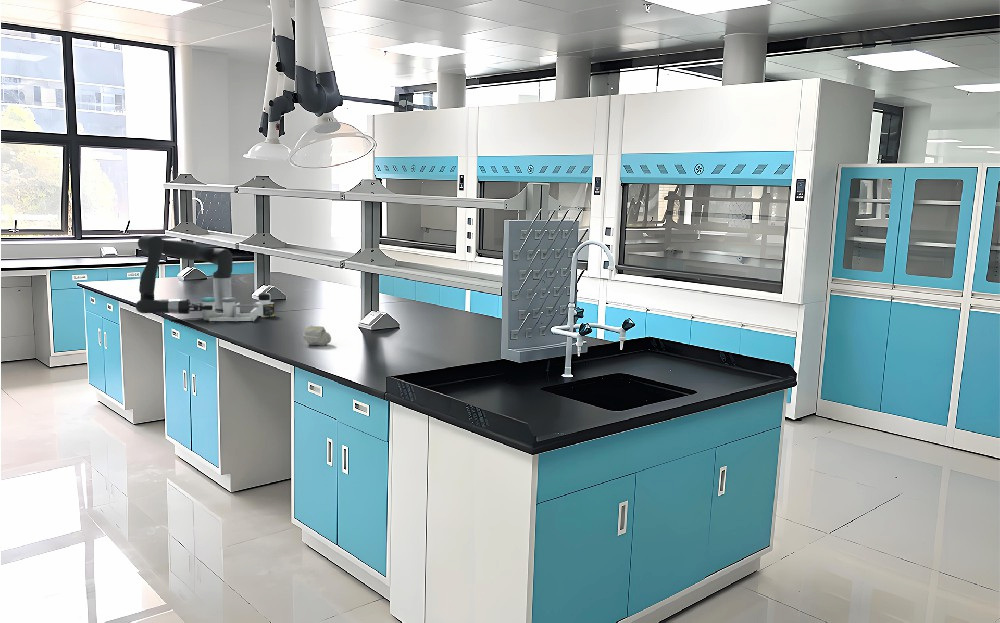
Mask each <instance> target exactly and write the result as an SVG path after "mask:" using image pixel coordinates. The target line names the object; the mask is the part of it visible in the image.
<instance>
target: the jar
mask: <svg viewBox="0 0 1000 623" xmlns="http://www.w3.org/2000/svg"><path fill="white" fill-rule="evenodd" d="M201 302H202V305H204V306H205V305H212V306H213V309H212V310H205V309H204V311H203V310H202V320H203V319H204V320H203V321H209V318H216V317H215V313H216V309H215V297H214V296H206V297H201Z"/></svg>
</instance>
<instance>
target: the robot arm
mask: <svg viewBox="0 0 1000 623" xmlns="http://www.w3.org/2000/svg"><path fill="white" fill-rule="evenodd" d="M137 246H138V248H139V249H140V250H141V251H142V252H143V253H147V260H146V261H147V262H146V264H145V267H144V269H143V270H142V272H141V275H140V279H139V289H138V292H139V294H140V299H139V300H138V301H137V302H136V304H135V309H136V311H137V312H138V313H141V314H158V313H159V314H176V315H181V314H182V315H188V314H190V312H203V311H204V309H205V310H212V309H213V306H212V305H205V306H204V305H202V301H195V302H191V301H190V299H188V298H172V299H169V298H168V299H162V298H161V299H155V288H156V278H157V273H158V268H159V265H160V261H161V257H162V255H166V256H170V257H174V258H177V259H181V260H188V261H203V262H207V263H210V264H213V265H217V270H216V271H214V272H213V273H212V280H213V285H212V286H213V297H215V310H223V302H222V298H226V297H232V272H233V253H232V252H231V251H230V249H228V248H218V247H204V246H201V245H199V244H198V243H197V244H196V243H194V242H188V241H184V240H175V239H174V240H172V239H171V240H169V239H164V238H162V237H161V236H159V235H155V234H145V235H142V236H141V237H139V238H138V240H137Z"/></svg>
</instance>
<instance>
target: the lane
mask: <svg viewBox="0 0 1000 623" xmlns="http://www.w3.org/2000/svg"><path fill="white" fill-rule="evenodd" d="M256 319H258V316H257V308H255V307H253V309H252V310H251V311H250V313H249V312H247V313H244V312H243V313H241V312H240V317H223V312H220V313H219V312H215V318H209V320H208V322H209V321H253V322H255V320H256Z"/></svg>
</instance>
